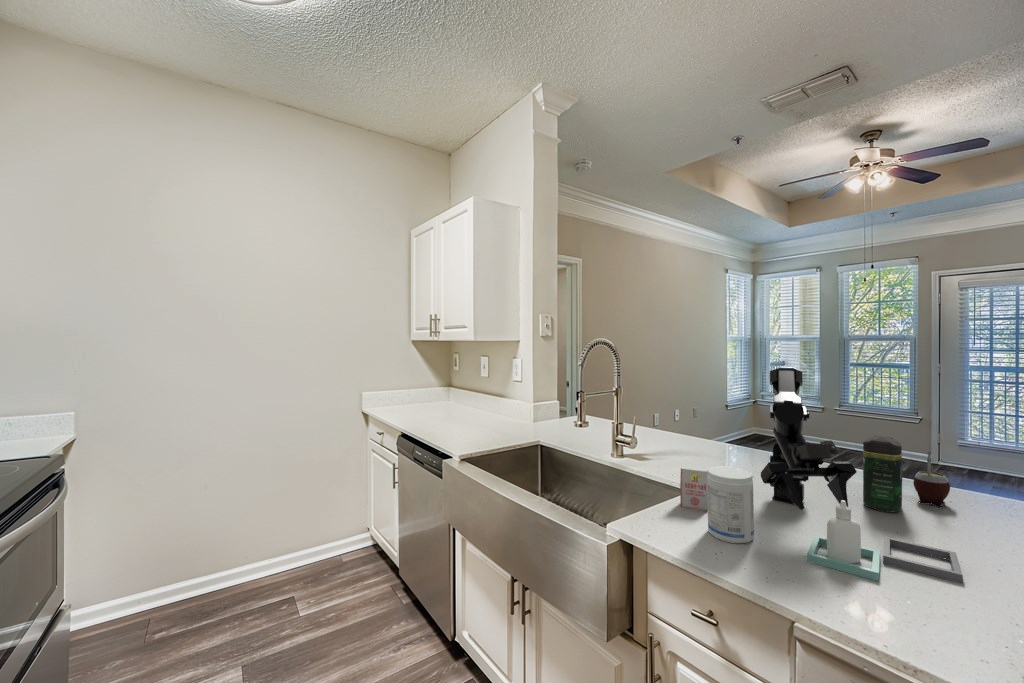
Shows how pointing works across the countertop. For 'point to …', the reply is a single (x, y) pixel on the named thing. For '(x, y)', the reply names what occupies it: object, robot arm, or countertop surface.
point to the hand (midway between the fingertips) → (824, 509)
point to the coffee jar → (882, 473)
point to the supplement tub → (730, 504)
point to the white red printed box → (693, 489)
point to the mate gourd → (931, 486)
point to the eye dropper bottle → (843, 536)
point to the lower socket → (845, 566)
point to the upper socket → (921, 567)
